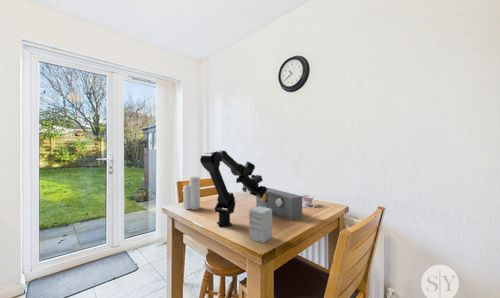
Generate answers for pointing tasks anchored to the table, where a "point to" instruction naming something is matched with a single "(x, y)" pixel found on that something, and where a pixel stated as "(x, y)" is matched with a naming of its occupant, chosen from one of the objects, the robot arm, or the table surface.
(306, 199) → the teacup
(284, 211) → the console
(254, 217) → the supplement box
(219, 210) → the robot arm
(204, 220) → the table surface
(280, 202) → the cream button
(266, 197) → the orange button
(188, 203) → the candle
